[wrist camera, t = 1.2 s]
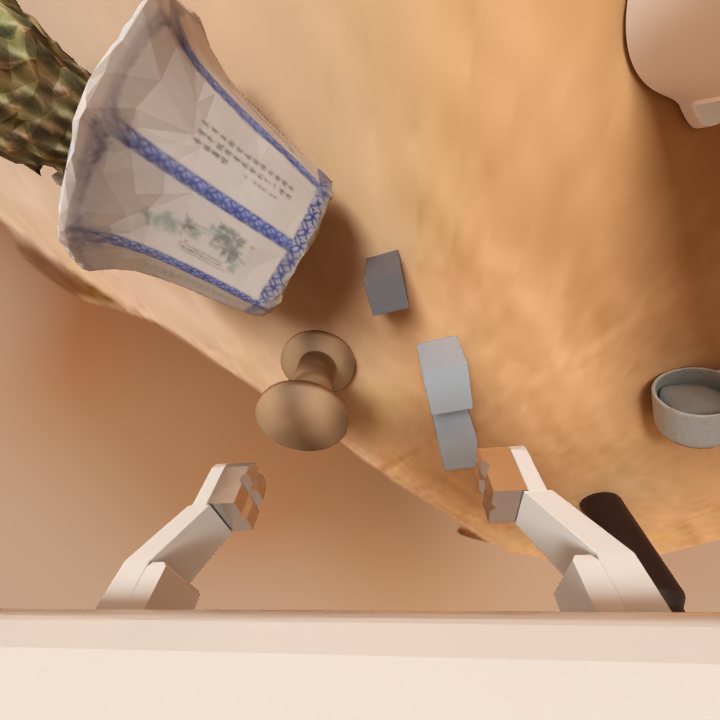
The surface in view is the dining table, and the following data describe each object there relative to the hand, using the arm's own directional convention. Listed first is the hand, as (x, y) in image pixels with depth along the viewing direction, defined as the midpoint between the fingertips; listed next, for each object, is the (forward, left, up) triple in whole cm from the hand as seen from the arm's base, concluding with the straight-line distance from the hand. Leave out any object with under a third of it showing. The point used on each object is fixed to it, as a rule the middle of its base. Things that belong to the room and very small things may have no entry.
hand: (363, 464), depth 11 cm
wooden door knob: (+11, +12, -26) cm, 31 cm away
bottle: (-29, +56, -27) cm, 68 cm away
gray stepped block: (-5, +22, -26) cm, 35 cm away
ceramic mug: (-35, +28, -27) cm, 52 cm away
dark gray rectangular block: (-1, +2, -26) cm, 26 cm away
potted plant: (+14, -15, -27) cm, 34 cm away
